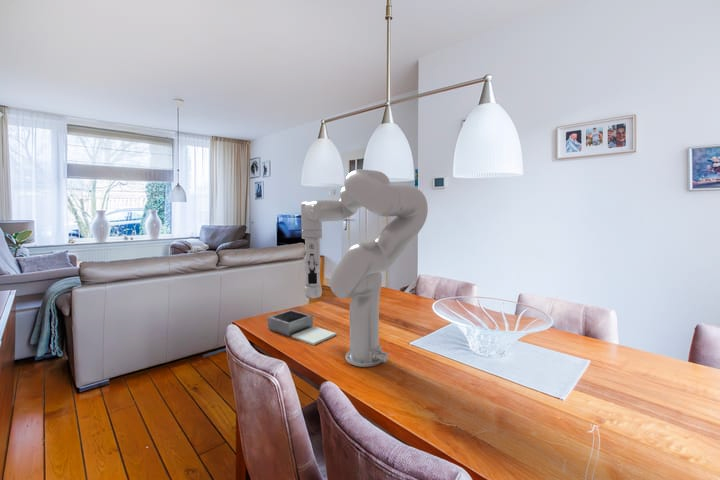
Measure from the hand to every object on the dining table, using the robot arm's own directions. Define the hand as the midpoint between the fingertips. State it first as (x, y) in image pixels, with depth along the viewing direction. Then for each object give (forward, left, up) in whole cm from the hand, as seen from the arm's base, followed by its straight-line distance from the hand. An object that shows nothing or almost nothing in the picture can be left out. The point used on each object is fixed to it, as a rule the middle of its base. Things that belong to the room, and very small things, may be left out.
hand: (312, 281), depth 127 cm
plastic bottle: (0, 0, -7) cm, 7 cm away
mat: (0, 0, -22) cm, 22 cm away
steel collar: (+14, 0, -22) cm, 26 cm away
